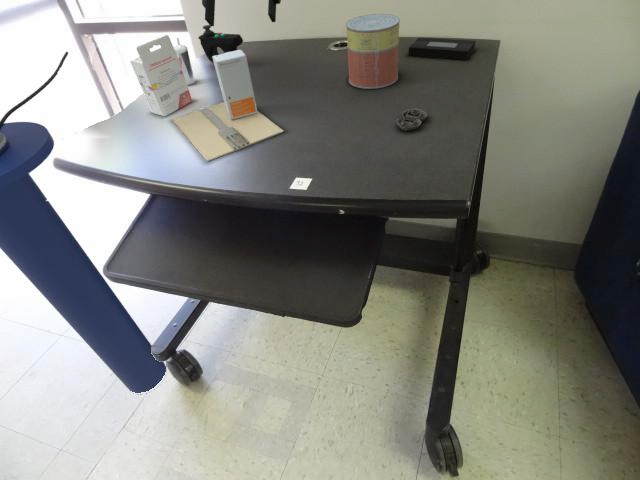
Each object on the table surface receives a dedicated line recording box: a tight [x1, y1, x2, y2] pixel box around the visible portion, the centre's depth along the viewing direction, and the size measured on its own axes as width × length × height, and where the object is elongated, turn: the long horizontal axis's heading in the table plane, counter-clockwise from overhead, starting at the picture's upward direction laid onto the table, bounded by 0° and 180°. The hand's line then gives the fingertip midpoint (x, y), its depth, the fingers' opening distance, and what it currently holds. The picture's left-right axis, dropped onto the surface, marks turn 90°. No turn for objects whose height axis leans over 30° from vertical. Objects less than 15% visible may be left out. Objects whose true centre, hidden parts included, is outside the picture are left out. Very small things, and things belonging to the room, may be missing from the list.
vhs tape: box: [408, 37, 476, 61], centre depth 99 cm, size 8×14×2 cm, turn 60°
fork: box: [199, 106, 249, 150], centre depth 81 cm, size 21×3×1 cm, turn 32°
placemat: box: [171, 101, 285, 162], centre depth 82 cm, size 22×16×1 cm
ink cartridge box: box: [129, 34, 193, 117], centre depth 87 cm, size 9×5×15 cm, turn 143°
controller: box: [197, 24, 244, 65], centre depth 105 cm, size 4×12×10 cm, turn 66°
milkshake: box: [173, 37, 196, 86], centre depth 99 cm, size 4×5×10 cm
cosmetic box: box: [212, 49, 259, 120], centre depth 81 cm, size 6×4×12 cm
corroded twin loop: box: [395, 107, 428, 132], centre depth 75 cm, size 5×8×1 cm, turn 151°
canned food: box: [345, 13, 401, 90], centre depth 88 cm, size 11×11×12 cm
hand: (240, 20), depth 82 cm, fingers open, 13 cm apart
